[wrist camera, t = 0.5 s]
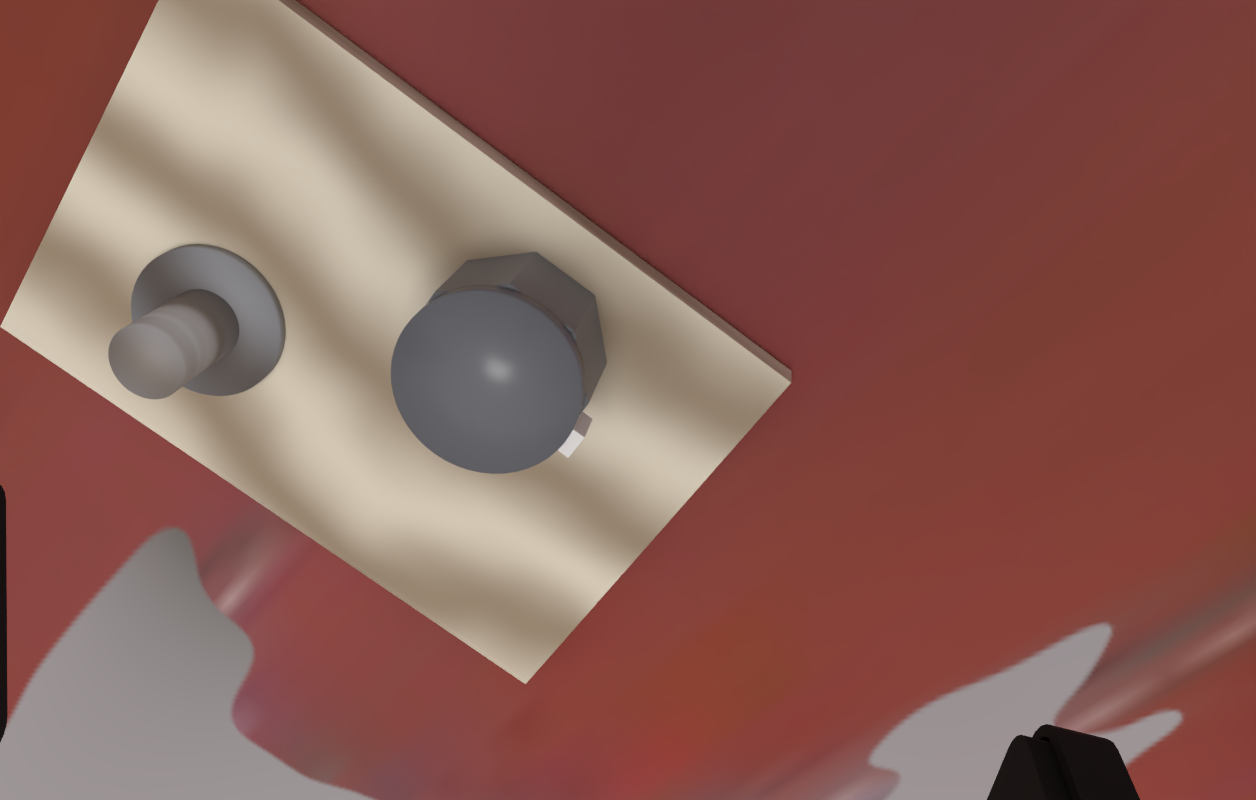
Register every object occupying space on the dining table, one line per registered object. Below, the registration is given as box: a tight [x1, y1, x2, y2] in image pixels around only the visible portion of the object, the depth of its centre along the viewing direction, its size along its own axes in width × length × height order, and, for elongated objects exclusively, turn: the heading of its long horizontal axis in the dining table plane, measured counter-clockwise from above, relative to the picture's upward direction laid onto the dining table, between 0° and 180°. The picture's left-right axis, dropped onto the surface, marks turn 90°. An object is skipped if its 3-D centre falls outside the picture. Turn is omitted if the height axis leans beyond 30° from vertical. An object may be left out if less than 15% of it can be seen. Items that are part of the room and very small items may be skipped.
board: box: [1, 0, 791, 684], centre depth 42 cm, size 18×26×6 cm
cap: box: [391, 252, 607, 474], centre depth 40 cm, size 7×7×5 cm
